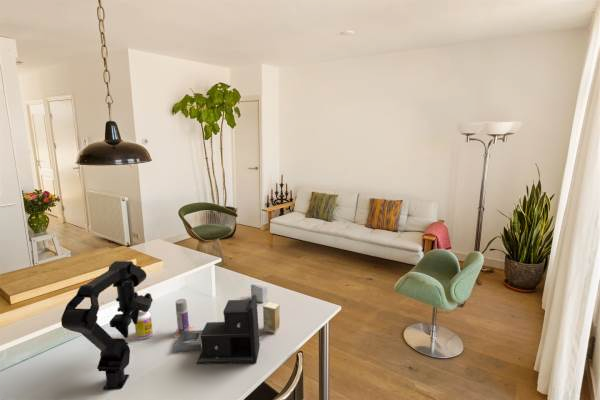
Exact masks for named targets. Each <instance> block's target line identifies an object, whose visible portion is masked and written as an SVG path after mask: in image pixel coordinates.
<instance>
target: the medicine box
mask: <svg viewBox="0 0 600 400" xmlns="http://www.w3.org/2000/svg"><path fill="white" fill-rule="evenodd" d="M250 293H251V294H250V296H251V299H252V296H253V295H256V296H257V303H262V304H264V303H266V302H268V300H269V294H268V293H269V292H268V285H267V284H265V283H261V282H258V281H255V282H253V283H252V284H250Z"/></svg>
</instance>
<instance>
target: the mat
mask: <svg viewBox="0 0 600 400" xmlns="http://www.w3.org/2000/svg"><path fill="white" fill-rule="evenodd" d="M194 328H195V326H189V331H194ZM179 336H180V335H179V333H178V328H177V330H176V332H175V334H174V336H173V338H174V339H178V338H179Z"/></svg>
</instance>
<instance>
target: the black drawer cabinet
mask: <svg viewBox="0 0 600 400" xmlns="http://www.w3.org/2000/svg"><path fill="white" fill-rule="evenodd" d="M222 313H223V320H224V321H213V322H212V321H211V322H208V321H207V322H206V323H205V325H204V327H203V329H202V330H203V331H202V333H201V342H202V351H200V353H199V356H198V357H197V360H196V363H195V364H196V365H216V364H217V365H222V364H224V365H226V364H256V363H257V360H258V357H259V353H260V352H259V351H260V347H261V344H260V343H261V342H260V329H259V328H260V327H259V317H258V315H259V314H258V313H259V311H258V301H257V296H256V295H253V296H252V298H251V299H229V300H228V301H227V302H226V305H225V306H224V308H223V312H222Z"/></svg>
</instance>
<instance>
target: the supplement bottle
mask: <svg viewBox="0 0 600 400" xmlns="http://www.w3.org/2000/svg"><path fill="white" fill-rule="evenodd" d="M134 329H135V336H136V339H138V340H146V339H149V338H150V337H152V335H153V333H154V331H153V323H152V314H151V312H150V311H148V312H143V311H140V310H139V316H138V322H137V324H134Z"/></svg>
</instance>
